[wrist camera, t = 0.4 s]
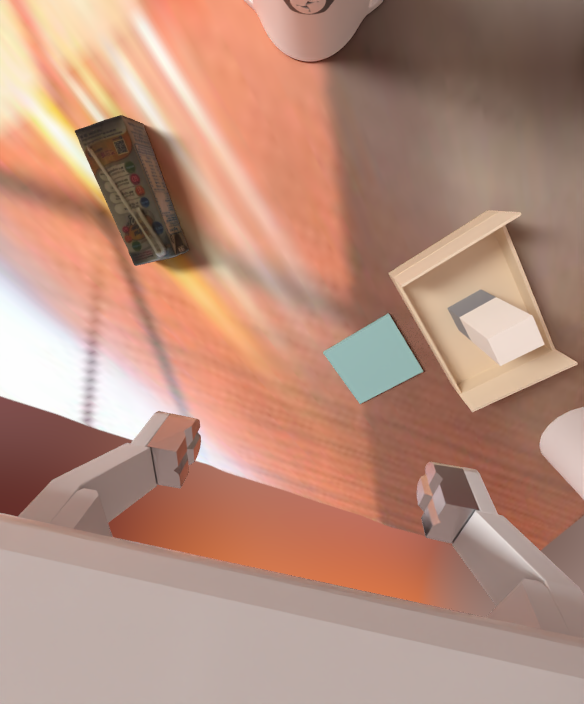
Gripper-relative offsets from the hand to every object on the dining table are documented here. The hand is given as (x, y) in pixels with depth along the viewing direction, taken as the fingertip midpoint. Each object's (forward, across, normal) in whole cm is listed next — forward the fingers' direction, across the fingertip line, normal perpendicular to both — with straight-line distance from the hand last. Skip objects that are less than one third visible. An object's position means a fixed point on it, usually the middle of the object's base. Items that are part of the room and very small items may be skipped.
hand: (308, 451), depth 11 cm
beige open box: (+48, -25, +10) cm, 56 cm away
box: (+48, -26, +10) cm, 55 cm away
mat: (+46, -11, +22) cm, 53 cm away
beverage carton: (+45, +31, -1) cm, 55 cm away
